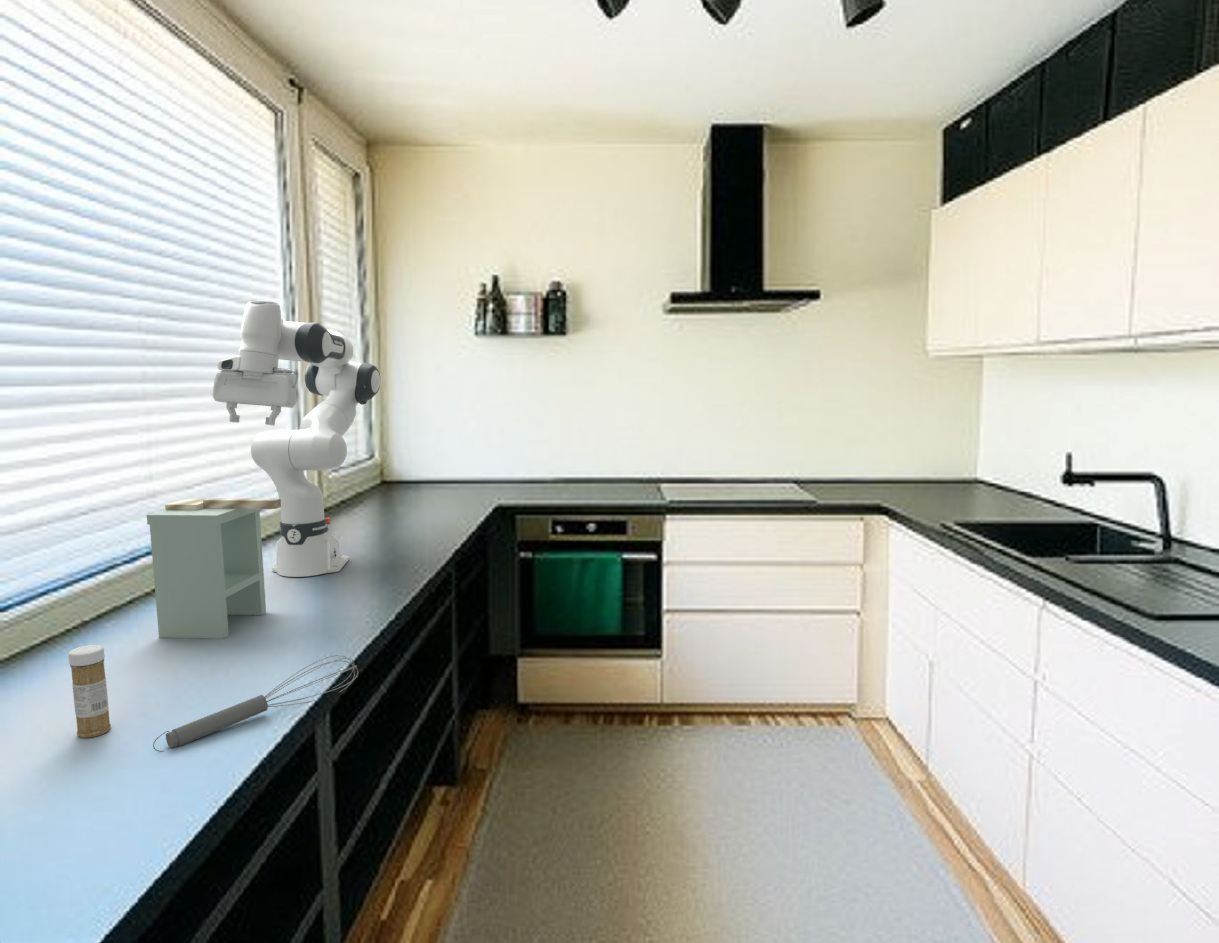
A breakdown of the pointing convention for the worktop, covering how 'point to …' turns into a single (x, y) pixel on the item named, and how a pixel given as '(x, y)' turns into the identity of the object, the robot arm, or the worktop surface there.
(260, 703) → the kitchen whisk
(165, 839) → the worktop surface
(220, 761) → the worktop surface
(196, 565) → the shelf
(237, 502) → the turner
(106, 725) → the sprinkles bottle
